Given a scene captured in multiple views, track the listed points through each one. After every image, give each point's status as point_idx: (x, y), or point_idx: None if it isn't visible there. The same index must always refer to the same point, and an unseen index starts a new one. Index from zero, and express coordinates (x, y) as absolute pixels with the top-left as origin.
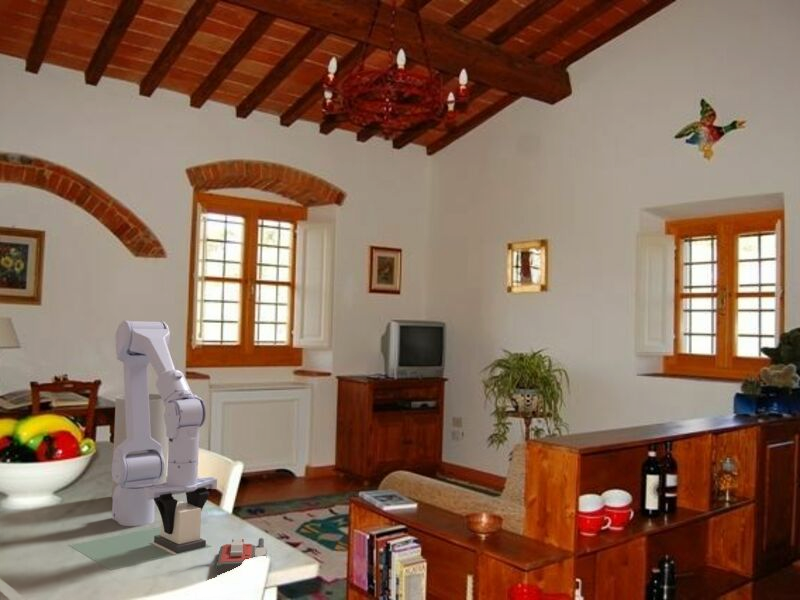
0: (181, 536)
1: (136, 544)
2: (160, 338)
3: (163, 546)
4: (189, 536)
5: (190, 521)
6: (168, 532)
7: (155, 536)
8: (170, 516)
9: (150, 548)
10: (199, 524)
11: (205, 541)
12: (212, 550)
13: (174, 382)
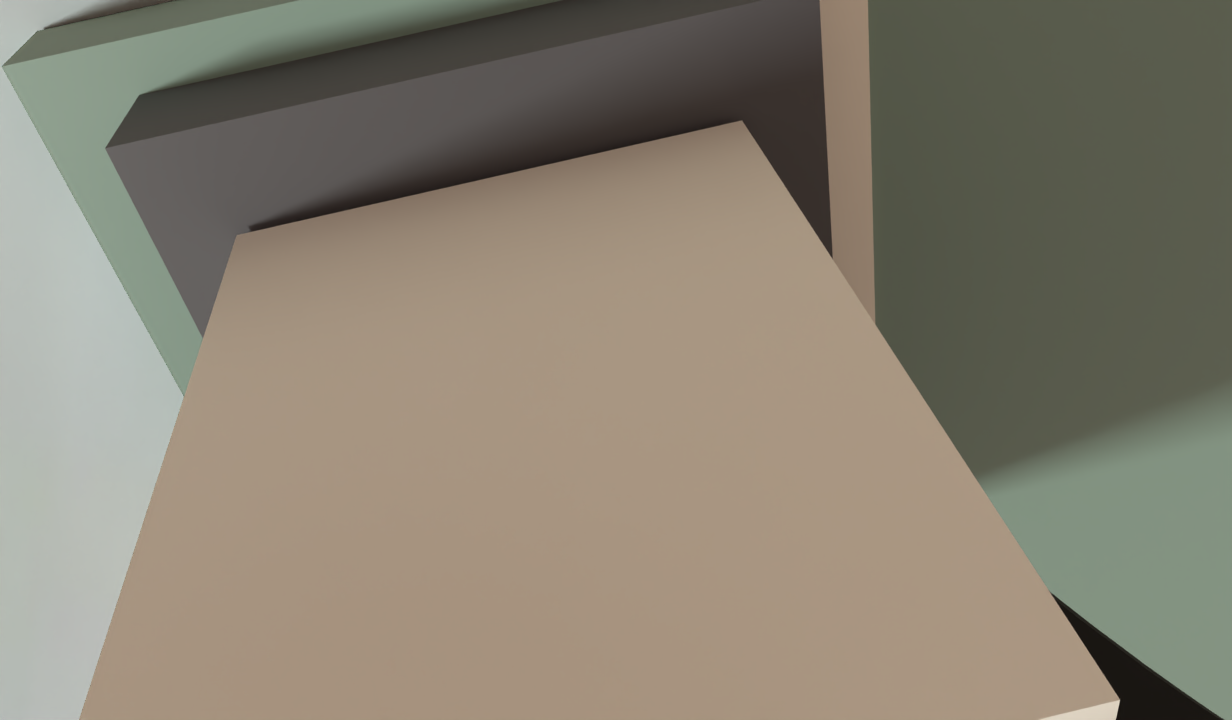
0: (722, 206)
1: (1038, 571)
2: None
3: None
4: (503, 233)
5: (521, 472)
6: None
7: None
8: (1144, 705)
9: (996, 380)
10: (202, 445)
11: (120, 135)
12: (9, 97)
13: None
